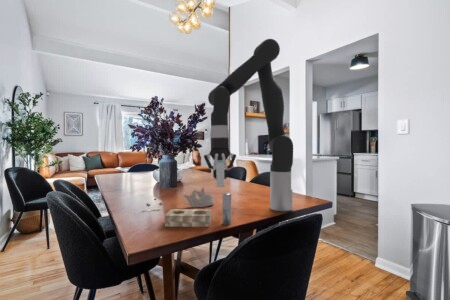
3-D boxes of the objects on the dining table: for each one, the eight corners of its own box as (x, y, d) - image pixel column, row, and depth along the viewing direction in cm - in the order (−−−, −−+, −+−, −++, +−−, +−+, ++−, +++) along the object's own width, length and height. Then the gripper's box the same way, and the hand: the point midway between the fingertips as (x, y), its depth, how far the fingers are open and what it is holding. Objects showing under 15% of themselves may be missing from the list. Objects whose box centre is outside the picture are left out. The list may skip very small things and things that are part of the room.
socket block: (211, 219, 93) (211, 209, 92) (209, 226, 85) (209, 215, 84) (170, 219, 93) (170, 209, 93) (165, 226, 85) (165, 215, 85)
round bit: (231, 221, 90) (231, 193, 90) (231, 224, 87) (231, 194, 86) (222, 221, 90) (222, 193, 90) (222, 224, 87) (222, 194, 87)
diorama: (143, 214, 101) (143, 206, 101) (146, 200, 127) (145, 193, 127) (165, 212, 104) (165, 204, 104) (163, 198, 129) (163, 192, 129)
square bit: (224, 185, 100) (224, 159, 99) (224, 187, 96) (224, 159, 96) (217, 185, 100) (216, 159, 99) (216, 187, 96) (216, 160, 96)
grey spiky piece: (209, 207, 107) (201, 186, 108) (190, 214, 111) (182, 194, 112) (219, 200, 120) (211, 181, 121) (201, 207, 123) (194, 189, 124)
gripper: (236, 136, 101) (237, 177, 101) (203, 137, 101) (204, 177, 102) (237, 136, 93) (238, 179, 94) (201, 137, 94) (202, 180, 94)
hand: (220, 178), depth 98 cm, fingers closed on square bit, 3 cm apart
